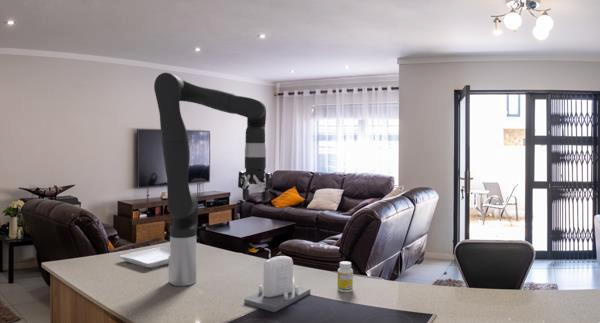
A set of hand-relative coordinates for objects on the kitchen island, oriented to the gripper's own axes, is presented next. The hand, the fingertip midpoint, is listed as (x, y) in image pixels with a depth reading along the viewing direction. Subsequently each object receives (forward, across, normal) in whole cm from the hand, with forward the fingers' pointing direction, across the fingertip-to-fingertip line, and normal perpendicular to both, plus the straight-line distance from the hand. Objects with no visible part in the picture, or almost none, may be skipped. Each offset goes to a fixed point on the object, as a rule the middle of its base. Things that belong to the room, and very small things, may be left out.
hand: (255, 200), depth 154 cm
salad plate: (+31, +54, +2) cm, 62 cm away
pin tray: (+30, -16, +7) cm, 35 cm away
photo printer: (+29, -16, +7) cm, 34 cm away
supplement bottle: (+30, -30, -13) cm, 45 cm away
